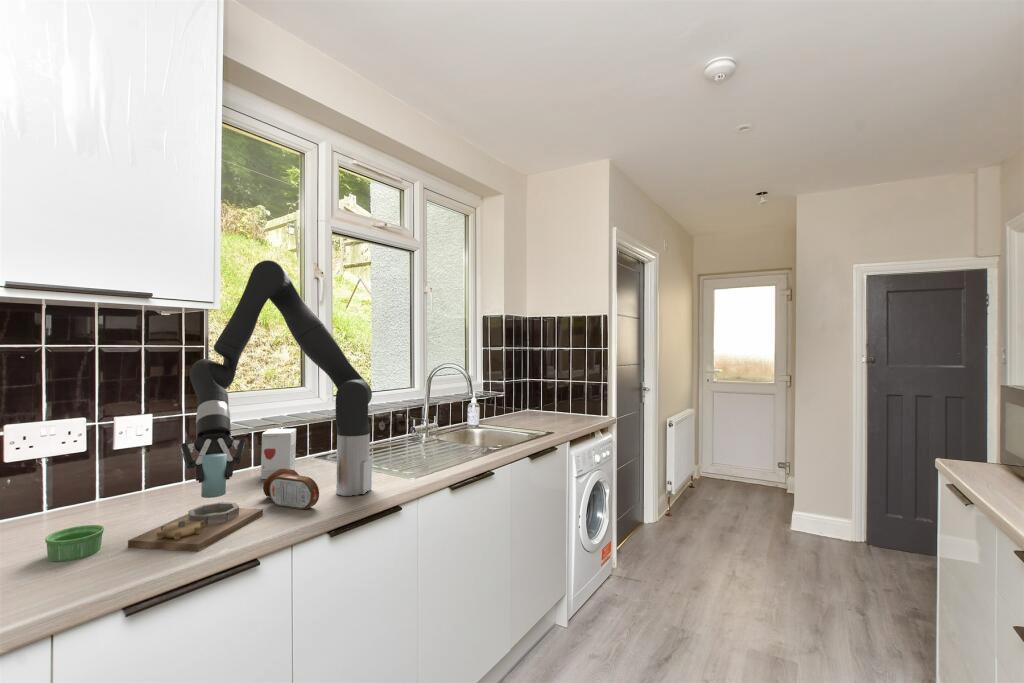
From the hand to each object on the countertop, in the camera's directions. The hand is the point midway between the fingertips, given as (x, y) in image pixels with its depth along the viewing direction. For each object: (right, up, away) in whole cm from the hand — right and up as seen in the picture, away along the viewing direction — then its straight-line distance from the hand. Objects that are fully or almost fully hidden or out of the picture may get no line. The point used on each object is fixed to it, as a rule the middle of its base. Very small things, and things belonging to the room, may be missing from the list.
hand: (214, 479), depth 115 cm
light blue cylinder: (-1, -4, +1) cm, 5 cm away
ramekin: (-19, -11, -16) cm, 27 cm away
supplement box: (-7, -12, +45) cm, 47 cm away
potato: (+5, -12, +24) cm, 27 cm away
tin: (+12, -12, +14) cm, 22 cm away
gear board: (-1, -11, -3) cm, 12 cm away
